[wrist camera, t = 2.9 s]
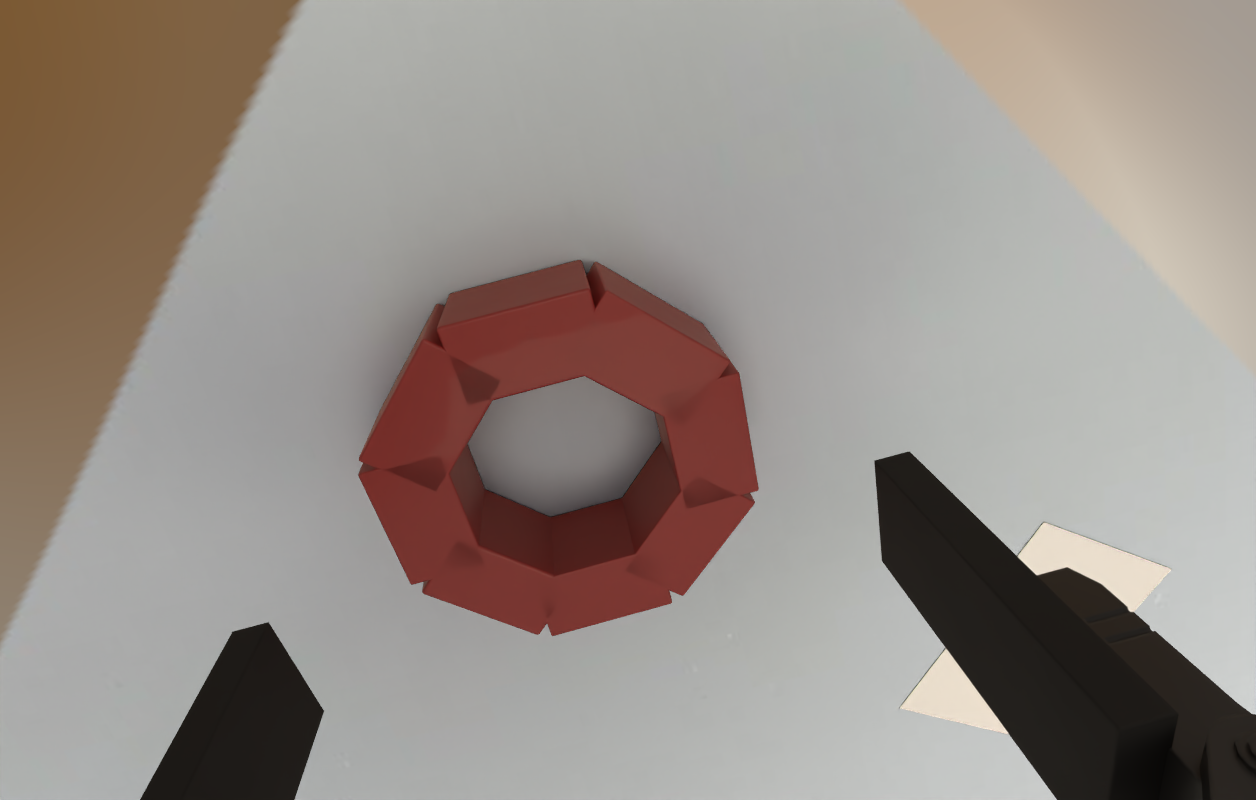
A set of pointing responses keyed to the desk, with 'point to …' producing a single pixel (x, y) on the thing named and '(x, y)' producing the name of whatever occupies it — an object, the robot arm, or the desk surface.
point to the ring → (583, 539)
